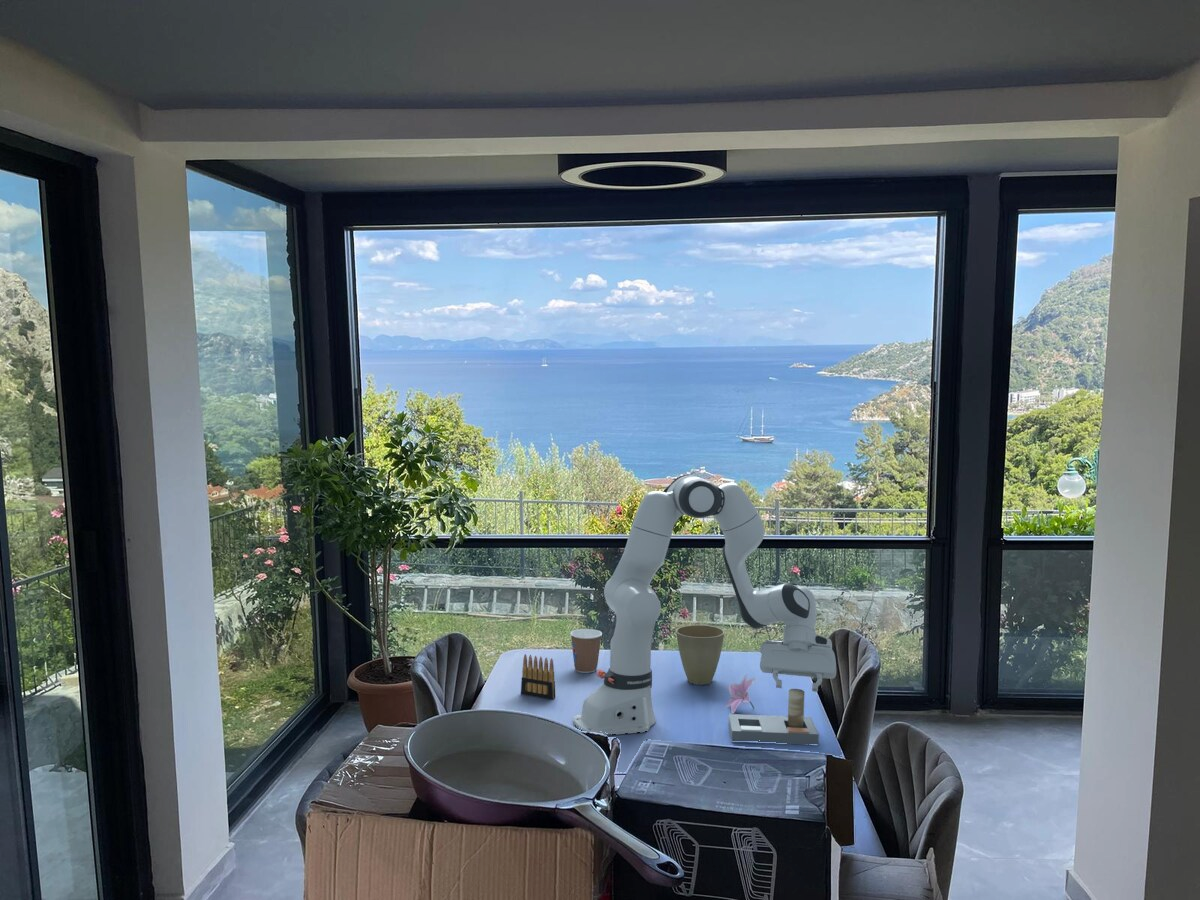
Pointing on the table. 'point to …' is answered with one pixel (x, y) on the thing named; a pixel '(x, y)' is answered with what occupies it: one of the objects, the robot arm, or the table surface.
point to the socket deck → (771, 729)
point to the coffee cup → (586, 649)
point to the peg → (796, 708)
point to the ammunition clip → (538, 678)
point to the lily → (739, 693)
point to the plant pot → (700, 651)
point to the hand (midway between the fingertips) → (796, 689)
